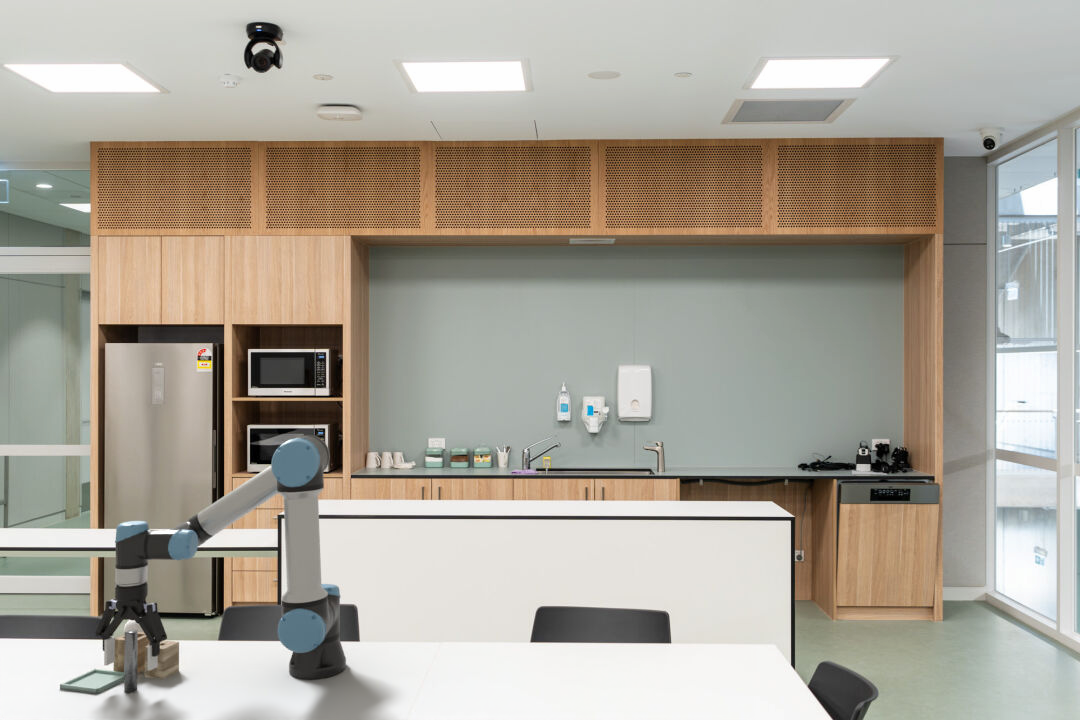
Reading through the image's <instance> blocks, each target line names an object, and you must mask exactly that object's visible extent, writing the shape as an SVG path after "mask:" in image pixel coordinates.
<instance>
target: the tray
mask: <svg viewBox="0 0 1080 720" xmlns="http://www.w3.org/2000/svg"><path fill="white" fill-rule="evenodd" d="M122 682H124V672H119V671H114V670H110V669H109V670H108V669H100V668H94V669H91V670H90V671H87V672H85V673H83V674H81V675H79V676H76V677H74V678H71V679H69V680H67V681H65V682H62V683H61V684H59V690H65V691H71V692H79V693H88V694H95V695H96V694H97V695H98V694H100V693H101V692H104V691H106V690H109V689H110V688H112V687H114V686H116V685H118V684H120V683H122Z"/></svg>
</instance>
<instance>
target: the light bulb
mask: <svg viewBox="0 0 1080 720" xmlns="http://www.w3.org/2000/svg"><path fill="white" fill-rule="evenodd" d="M130 630H137V631H138V632H143V630H142V628H141V627H140V625H139V624H138V623H136V622H135V620H129V619H128V620H127V622H126V623H125V625H124V627H123V635H125V632H126V631H130Z"/></svg>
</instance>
